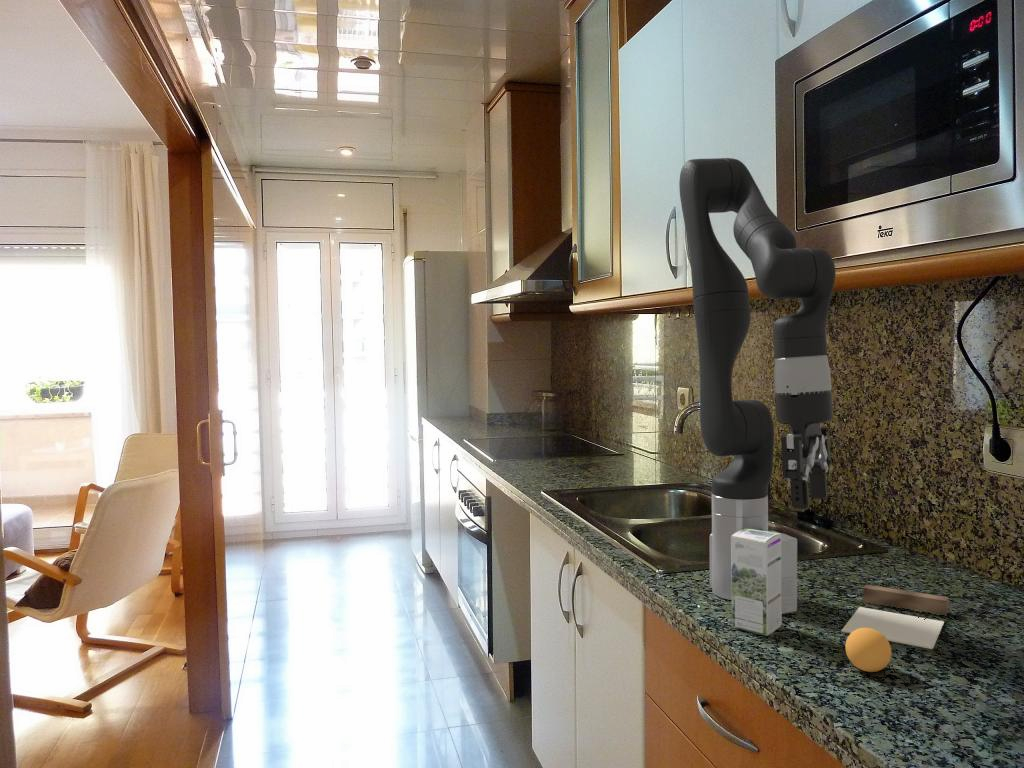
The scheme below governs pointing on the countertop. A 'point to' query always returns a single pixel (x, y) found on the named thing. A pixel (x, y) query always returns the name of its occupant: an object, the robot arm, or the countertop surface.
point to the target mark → (897, 627)
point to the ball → (868, 649)
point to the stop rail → (905, 599)
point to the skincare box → (788, 573)
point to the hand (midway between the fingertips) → (810, 503)
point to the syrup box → (756, 581)
